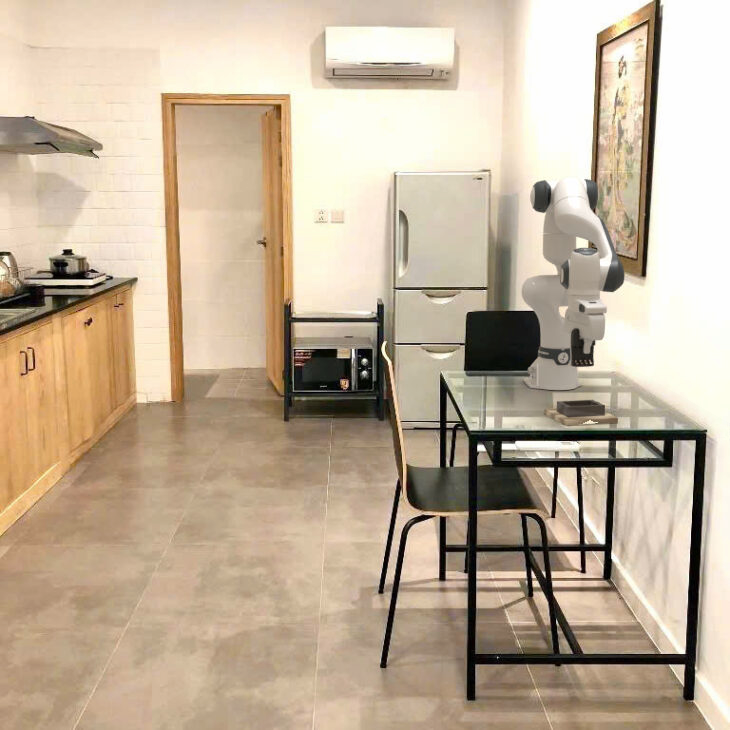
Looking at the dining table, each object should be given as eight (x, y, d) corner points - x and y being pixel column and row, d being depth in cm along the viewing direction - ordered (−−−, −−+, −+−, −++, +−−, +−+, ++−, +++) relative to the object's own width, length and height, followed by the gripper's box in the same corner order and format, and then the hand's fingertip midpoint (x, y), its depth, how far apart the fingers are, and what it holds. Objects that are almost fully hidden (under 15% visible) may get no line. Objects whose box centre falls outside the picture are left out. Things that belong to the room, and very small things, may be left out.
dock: (544, 413, 273) (544, 399, 272) (593, 411, 276) (594, 396, 275) (565, 425, 258) (566, 410, 257) (617, 423, 261) (618, 407, 260)
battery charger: (573, 367, 261) (574, 328, 260) (569, 366, 265) (569, 327, 264) (596, 367, 262) (597, 327, 261) (591, 365, 266) (592, 327, 265)
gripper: (559, 301, 271) (558, 347, 273) (588, 308, 251) (587, 357, 253) (578, 301, 272) (577, 346, 274) (609, 307, 252) (608, 356, 254)
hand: (582, 352), depth 263 cm, fingers closed on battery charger, 3 cm apart
